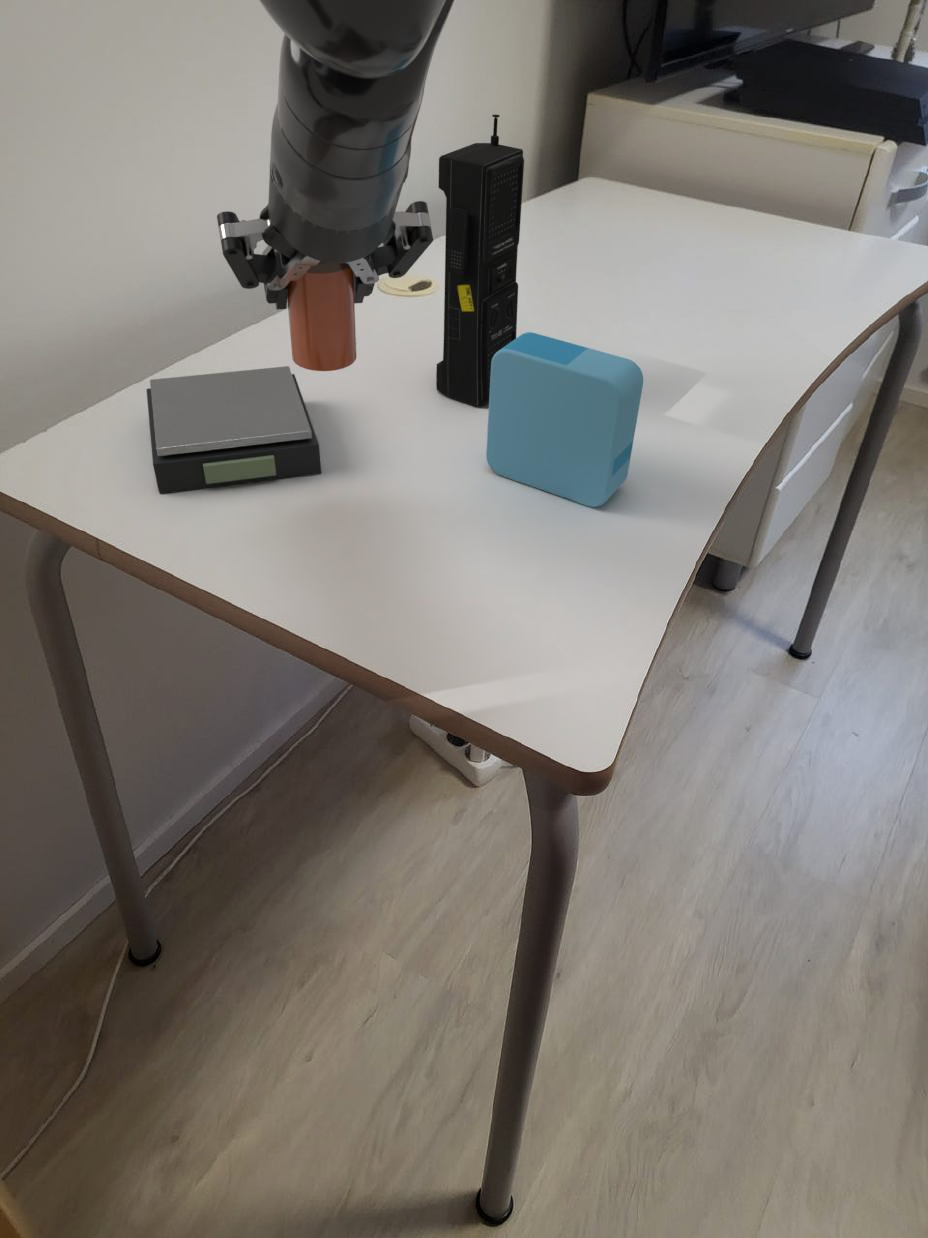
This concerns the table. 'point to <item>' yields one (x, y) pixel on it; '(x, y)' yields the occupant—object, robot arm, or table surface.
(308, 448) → the scale
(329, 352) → the spice tin
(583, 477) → the data package
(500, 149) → the portable radio
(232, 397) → the scale pan
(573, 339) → the table surface
